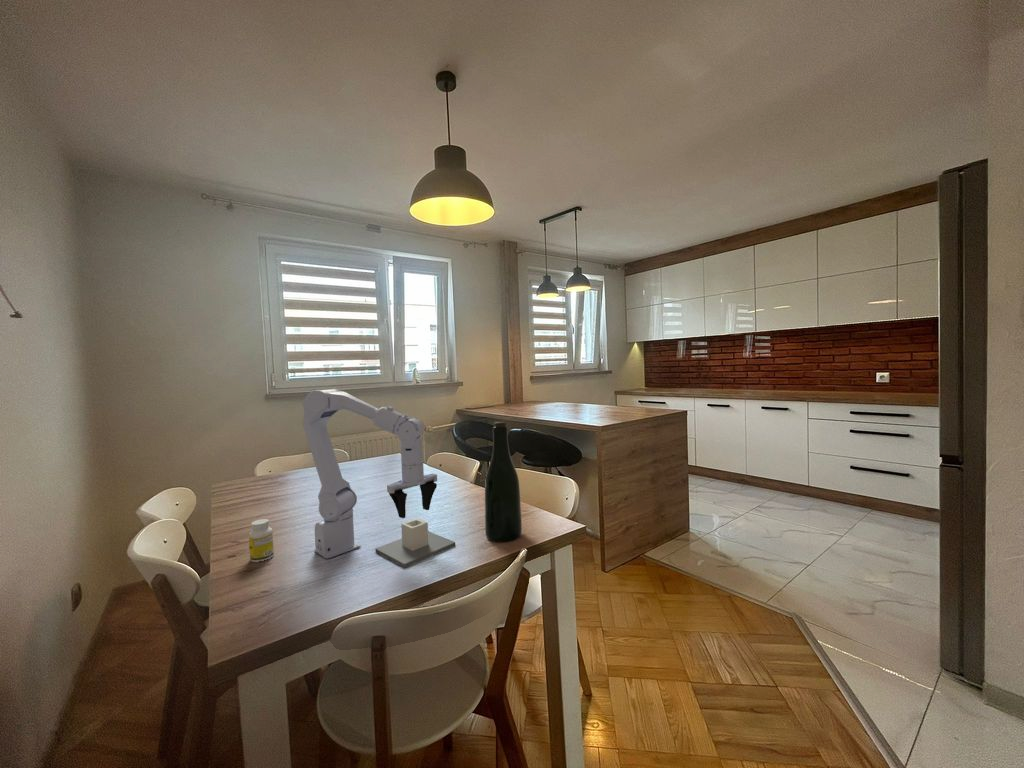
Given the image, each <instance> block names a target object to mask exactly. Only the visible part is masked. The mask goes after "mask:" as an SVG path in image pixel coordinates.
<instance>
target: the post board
mask: <svg viewBox="0 0 1024 768" xmlns="http://www.w3.org/2000/svg"><path fill="white" fill-rule="evenodd" d="M453 547H456V542H455V541H453V540H451V539H449V538H446V537H443V536H442V535H439V534H436V533H433V532H432V531H429V530H428V545H426V546H423V547H421V548H419V549H416V550H414V551H412V550H410V549H408V548H406V547H404V546H402V538H400V539H397V540H395V541H392V542H389V543H386V544H383V545H381V546H379V547H375V550H374V551H375V553H376V552H377V554H378V553H379V554H378V555H380V556H382V557H384V558H385V557H386V559H388V560H389V561H391V562H393V563H395V564H396V563H397V564H396V565H399V566H401V567H402V568H404V569H405V567H406V568H408V567H410V566H413V565H414V563H415V564H417V563H420V562H421V560H422V561H424V560H427V559H428V558H431V557H433V556H435V555H439V554H440V553H442V552H444V551H447V550H448V549H450V548H451V549H452V548H453ZM412 564H413V565H412ZM407 566H408V567H407Z"/></svg>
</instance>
